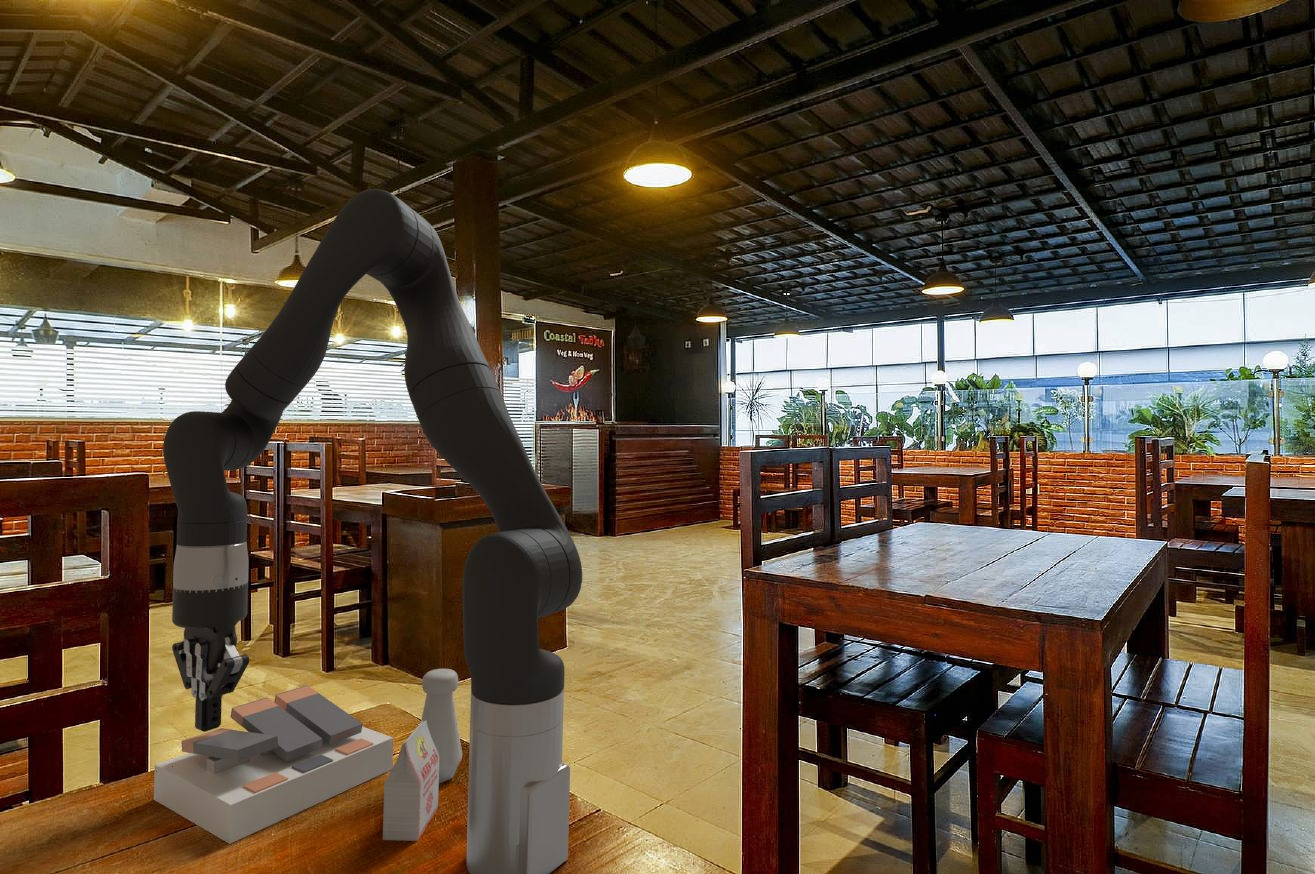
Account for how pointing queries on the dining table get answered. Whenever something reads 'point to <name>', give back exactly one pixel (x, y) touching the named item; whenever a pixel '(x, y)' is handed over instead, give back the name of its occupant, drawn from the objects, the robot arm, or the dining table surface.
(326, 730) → the switch
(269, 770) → the switch box
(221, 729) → the switch
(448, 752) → the salt shaker
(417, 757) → the white gabled box
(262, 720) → the switch
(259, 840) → the dining table surface
